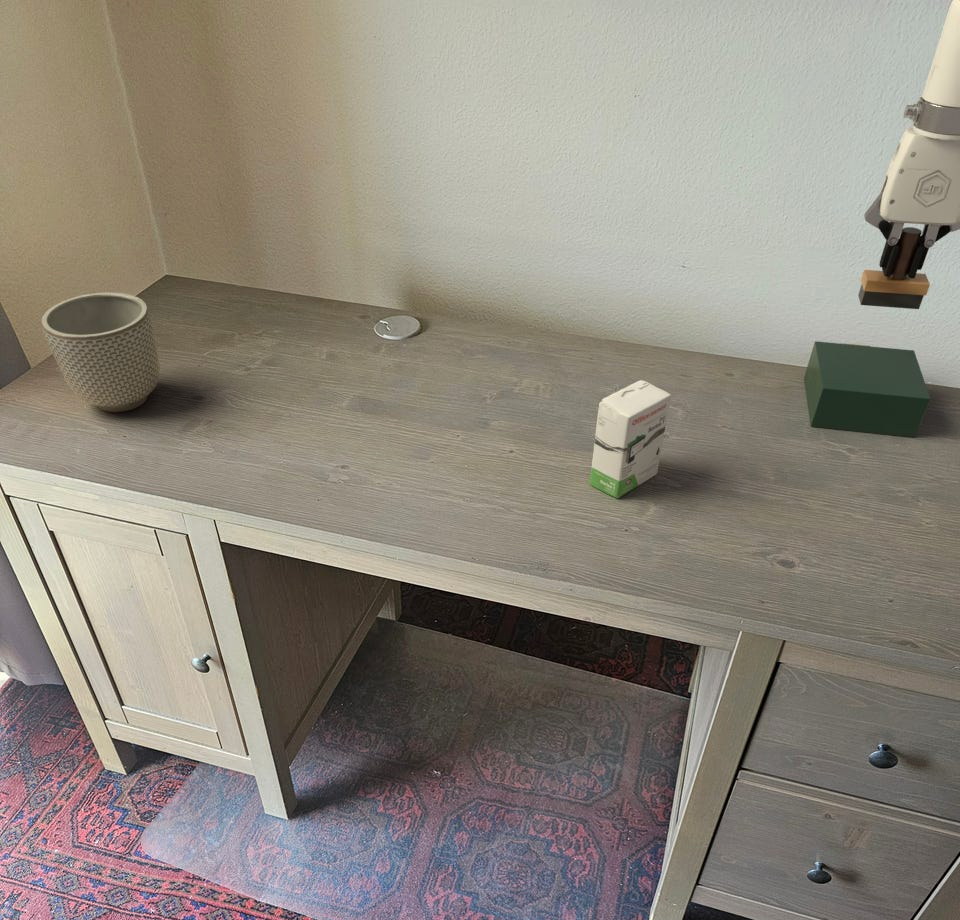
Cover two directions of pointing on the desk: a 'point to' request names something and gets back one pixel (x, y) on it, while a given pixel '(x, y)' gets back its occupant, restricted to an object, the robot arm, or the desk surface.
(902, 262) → the brush
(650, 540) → the desk surface
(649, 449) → the ink box
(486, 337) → the desk surface
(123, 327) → the planter
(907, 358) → the enamel box
